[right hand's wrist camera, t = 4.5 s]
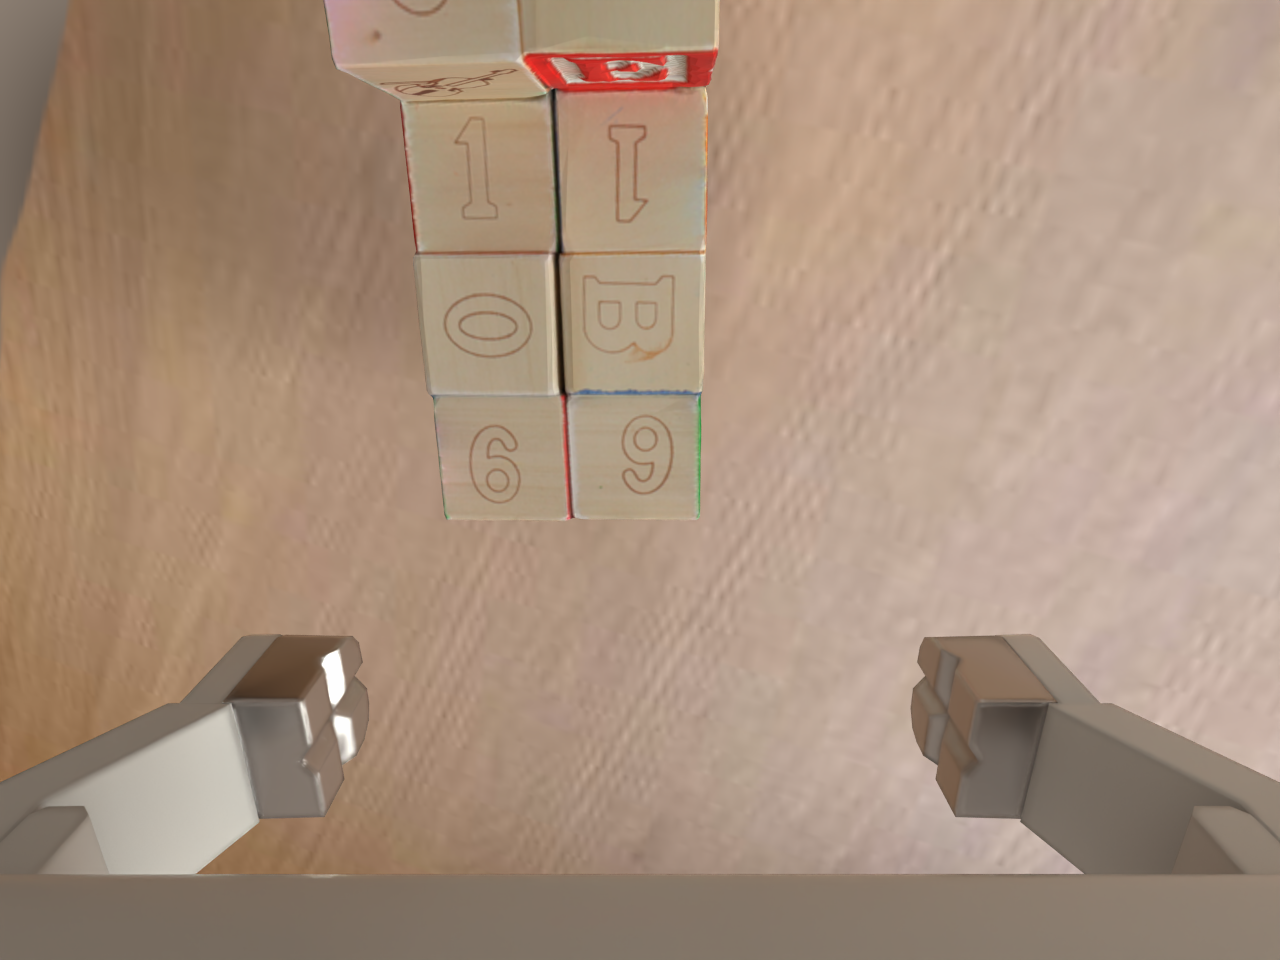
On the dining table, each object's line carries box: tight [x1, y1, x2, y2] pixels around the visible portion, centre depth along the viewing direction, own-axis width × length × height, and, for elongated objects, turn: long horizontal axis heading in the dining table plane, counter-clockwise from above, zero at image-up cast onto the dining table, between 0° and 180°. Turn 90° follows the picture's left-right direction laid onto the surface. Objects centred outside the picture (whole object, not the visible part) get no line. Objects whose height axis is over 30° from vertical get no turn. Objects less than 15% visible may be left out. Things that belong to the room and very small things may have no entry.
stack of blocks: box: [323, 0, 719, 521], centre depth 16 cm, size 21×6×12 cm, turn 0°
